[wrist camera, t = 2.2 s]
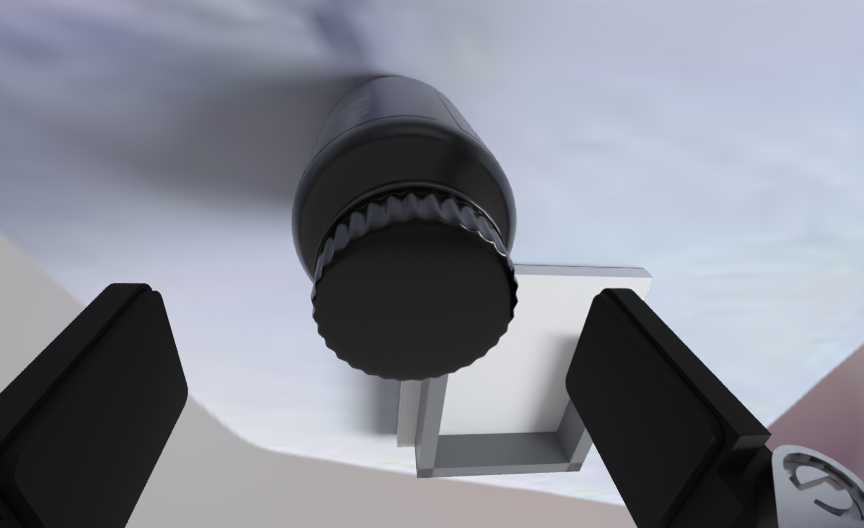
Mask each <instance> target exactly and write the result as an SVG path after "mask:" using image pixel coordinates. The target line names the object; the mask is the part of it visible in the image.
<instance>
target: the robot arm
mask: <svg viewBox="0 0 864 528" xmlns="http://www.w3.org/2000/svg"><path fill="white" fill-rule="evenodd" d="M565 385H566V390H567V393H568V395H569V397H570V399H571V401H572V402H573V404H574V406H575V408H576V410H577V412H578V414H579V416H580V418H581V420H582V422H583V424H584V426H585V427H586V429H587V431H588V433H589V435H590V437H591V439H592V441H593V443H594V445H595V447H596V449H597V451H598V453H599V454H600V456H601V458H602V460H603V462H604V464H605V466H606V468H607V470H608V472H609V474H610V476H611V478H612V479H613V481H614V483H615V485H616V487H617V489H618V491H619V493H620V495H621V497H622V499H623V501H624V503H625V505H626V506H627V508H628V510H629V512H630V514H631V516H632V518H633V520H634V522H635V524H636V525H637V527H638V528H864V483H863V482H862V481H861V480H860V479H859V478H858V477H857V476H856V475H854V474H853V473H852V472H851V471H849V470H848V469H846V468H845V467H844V466H842V465H841V464H839V463H838V462H836V461H835V460H833V459H831V458H829V457H827V456H825V455H823V454H821V453H819V452H816V451H814V450H811V449H808V448H805V447H802V446H794V445H784V446H779V447H778V448H777V449H776V450H774V451H773V452H771V451H770V450H769V449H768V448H767V447H766V446H765V445H764V444H765V443H766V441H767V440H768V439H769V438H770V436H771V433H770V432H769V431H768V430H767V429H766V428H765V427H764V426H763V425H762V424H761V423H760V422H759V421H758V420H757V419H756V418H755V417H754V416H753V415H752V414H751V413H750V411H749V410H748V409H747V408H746V407H745V406H744V405H743V404H742V403H741V402H740V401H739V400H738V399H737V398H736V397H735V396H734V395H733V394H732V393H731V392H730V391H729V390H728V389H727V388H726V386H725V385H724V384H723V383H722V382H721V381H720V380H719V379H718V378H717V377H716V376H715V375H714V374H713V373H712V372H711V371H710V370H709V369H708V368H707V367H706V366H705V365H704V364H703V363H702V361H701V360H700V359H699V358H698V357H697V356H696V355H695V354H694V353H693V352H692V351H691V350H690V349H689V348H688V347H687V346H686V345H685V344H684V343H683V342H682V341H681V340H680V339H679V338H678V336H677V335H676V334H675V333H674V332H673V331H672V330H671V329H670V328H669V327H668V326H667V325H666V324H665V323H664V322H663V321H662V320H661V319H660V318H659V317H658V316H657V315H656V314H655V313H654V311H653V310H652V309H651V308H650V307H649V306H648V305H647V304H646V303H645V302H644V301H643V300H642V299H641V298H640V297H639V296H638V295H637V294H636V293H635V292H634V291H633V290H632V289H629V288H605V289H603V290H602V291H601V292H600V294H597V295H596V296H595V297H594V298H593V300H592V303H591V306H590V309H589V312H588V315H587V318H586V320H585V323H584V326H583V329H582V332H581V335H580V338H579V340H578V343H577V346H576V349H575V352H574V355H573V358H572V360H571V363H570V366H569V369H568V372H567V375H566V379H565ZM187 396H188V387H187V383H186V379H185V376H184V372H183V369H182V365H181V362H180V358H179V355H178V351H177V348H176V344H175V341H174V337H173V334H172V330H171V327H170V323H169V320H168V317H167V313H166V310H165V306H164V303H163V299H162V296H161V294H160V293H159V292H158V291H152V288H151V287H150V286H149V285H148V284H145V283H113V284H110V285H109V286H107V287H106V288H105V289H104V290H103V291H102V292H101V293H100V294H99V295H98V296H97V297H96V298H95V299H94V300H93V301H92V302H91V303H90V304H89V305H88V306H87V307H86V308H85V309H84V310H83V311H82V312H81V313H80V314H79V316H77V317H76V318H75V319H74V320H73V321H72V322H71V323H70V324H69V325H68V326H67V327H66V328H65V329H64V330H63V331H62V332H61V333H60V334H59V335H58V336H57V337H56V338H55V339H54V340H53V341H52V342H51V343H50V344H49V345H48V346H47V347H46V348H45V349H44V350H43V351H42V352H41V353H40V354H39V355H38V356H37V357H36V358H35V359H34V360H33V361H32V362H31V363H30V364H29V365H28V366H27V367H26V368H25V369H24V370H23V371H22V372H21V373H20V375H18V376H17V377H16V378H15V379H14V380H13V381H12V382H11V383H10V384H9V385H8V386H7V387H6V388H5V389H4V390H3V391H2V392H1V393H0V528H125V526H126V524H127V522H128V520H129V518H130V516H131V514H132V512H133V510H134V508H135V505H136V504H137V502H138V499H139V497H140V495H141V493H142V491H143V489H144V487H145V485H146V483H147V481H148V479H149V477H150V475H151V473H152V471H153V469H154V467H155V465H156V463H157V461H158V459H159V457H160V455H161V453H162V450H163V448H164V446H165V444H166V442H167V440H168V438H169V436H170V434H171V432H172V430H173V428H174V426H175V424H176V422H177V420H178V418H179V416H180V414H181V412H182V410H183V408H184V406H185V403H186V400H187Z"/></svg>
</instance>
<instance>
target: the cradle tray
mask: <svg viewBox="0 0 864 528" xmlns="http://www.w3.org/2000/svg"><path fill="white" fill-rule="evenodd" d="M514 268H515V277H516V279H517V281H518V289H517V292H516V295H517V298H518V303H517V305H516V307H515V309H514V318H513V319H512V321H511V322H510V323H509V324H508V330H507V332H506V333H505V334H504V335H503V336H502V337H500V339H499V342H498V344H497V345H496V346H494V347H493V348H491V349H489V350H488V352H487V354H486V355H485V356H484V357H481V358H479V359H477V360H475V361H474V362H473V363H472V364H471V365H470V366H467V367H463V368H461V369H459V370H458V371H456V372H455V373H450V374H445V375H442V376H441V377H439V378H427V379H425V380H422V381H415V380H408V381H401V387H400V400H399V413H398V426H397V447H415V455H416V469H417V478H430V477H453V476H477V475H501V474H524V473H548V472H572V471H580V469H581V466H582V464H583V462H584V460H585V458H586V456H587V454H588V452H589V450H590V447H591V445H592V443H593V441H592V439H591V437H590V435H589V433H588V431H587V429H586V427H585V426H584V424H583V422H582V420H581V418H580V416H579V414H578V412H577V410H576V408H575V406H574V404H573V402H572V401H571V399H570V397H569V395H568V393H567V390H566V385H565V379H566V375H567V372H568V369H569V366H570V363H571V360H572V358H573V355H574V352H575V349H576V346H577V343H578V340H579V338H580V335H581V332H582V329H583V326H584V323H585V320H586V318H587V315H588V312H589V309H590V306H591V303H592V300H593V298H594V297H595V296H596V295H597V294H600V292H601V291H602V290H603V289H605V288H629V289H632V290H633V291H634V292H635V293H636V294H637V295H638V296H639V297H640V298H641V299H642V300H643V301H644V299H645V297H646V294H647V292H648V290H649V288H650V285H651V283H652V281H653V279H654V278H653V277H652V276H651V275H650V274H649V273H648V272H647V271H646V270H645V269H638V268H603V267H568V266H533V265H514Z"/></svg>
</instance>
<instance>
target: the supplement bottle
mask: <svg viewBox="0 0 864 528" xmlns="http://www.w3.org/2000/svg"><path fill="white" fill-rule="evenodd" d="M515 232H516V207H515V200H514V196H513V192H512V189H511V186H510V184H509V181H508V179H507V177H506V175H505V173H504V172H503V170H502V168H501V166H500V165H499V163H498V162H497V160H496V159H495V157H494V156H493V154H492V153H491V152H490V151H489V149H488V148H487V147H486V145H485V144H484V143H483V142H482V140H481V139H480V138H479V136H478V135H477V134H476V133H475V131H474V130H473V129H472V128H471V126H470V125H469V124H468V122H467V121H466V120H465V119H464V117H463V116H462V115H461V113H460V112H459V111H458V110H457V109H456V107H455V106H454V105H453V104H452V103H451V102H450V101H449V100H448V99H447V98H446V97H445V96H444V95H443V94H442V93H440V92H439V91H438V90H436V89H435V88H433V87H431V86H430V85H428V84H426V83H423V82H421V81H418V80H415V79H411V78H407V77H396V76H391V77H382V78H376V79H373V80H370V81H367V82H365V83H362V84H360V85H359V86H357V87H355V88H354V89H352V90H351V91H349V92H348V93H347V94H346V95H345V96H344V97H342V98H341V100H340V101H339V102H338V103H337V104H336V105H335V107H334V108H333V109H332V111H331V113H330V114H329V116H328V118H327V120H326V122H325V124H324V126H323V129H322V131H321V133H320V136H319V138H318V140H317V143H316V145H315V147H314V150H313V152H312V155H311V157H310V159H309V162H308V164H307V166H306V169H305V171H304V173H303V176H302V178H301V180H300V183H299V186H298V189H297V192H296V196H295V200H294V205H293V210H292V235H293V241H294V246H295V249H296V253H297V256H298V258H299V261H300V263H301V265H302V267H303V269H304V271H305V272H306V274H307V276H308V277H309V279H310V280H311V281H312V283H313V289H312V293H311V301H312V304H313V312H312V316H313V319H314V320H315V322H316V323H317V324H318V333H319V334H320V335H321V336H322V337H323V338H324V339H325V343H326V346H327V347H328V348H329V349H331V350H333V351H334V352H335V353H336V355H337V357H338V358H339V359H341V360H343V361H346V362H348V364H349V365H350V366H351V367H352V368H355V369H360V370H362V371H364V372H365V373H366V374H368V375H376V376H379V377H381V378H383V379H396V380H399V381H408V380H415V381H422V380H425V379H427V378H439V377H441V376H442V375H445V374H450V373H455V372H456V371H458V370H459V369H461V368H463V367H467V366H470V365H471V364H472V363H473V362H474V361H475V360H477V359H479V358H481V357H484V356H485V355H486V354H487V352H488V350H489V349H491V348H493V347H494V346H496V345H497V344H498V342H499V339H500V337H502V336H503V335H504V334H505V333H506V332H507V330H508V324H509V323H510V322H511V321H512V319H513V318H514V309H515V307H516V305H517V303H518V298H517V295H516V292H517V289H518V281H517V279H516V277H515V268H514V265H513V262H512V261H511V259H510V257H509V255H510V253H511V250H512V246H513V243H514V238H515Z"/></svg>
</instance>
